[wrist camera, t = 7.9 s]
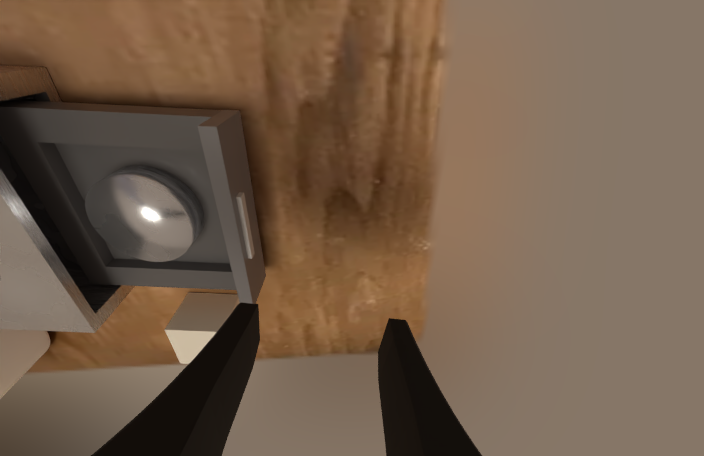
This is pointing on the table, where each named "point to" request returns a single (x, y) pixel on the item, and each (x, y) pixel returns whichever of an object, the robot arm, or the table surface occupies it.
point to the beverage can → (19, 354)
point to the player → (40, 242)
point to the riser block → (198, 322)
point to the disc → (145, 213)
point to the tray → (148, 150)
